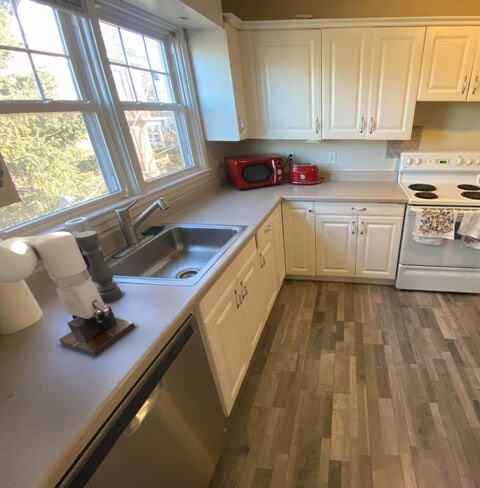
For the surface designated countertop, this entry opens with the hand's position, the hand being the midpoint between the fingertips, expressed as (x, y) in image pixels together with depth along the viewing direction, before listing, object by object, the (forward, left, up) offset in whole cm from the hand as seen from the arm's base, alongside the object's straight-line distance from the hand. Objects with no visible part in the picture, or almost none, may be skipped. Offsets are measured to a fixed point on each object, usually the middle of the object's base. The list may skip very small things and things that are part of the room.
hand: (95, 326), depth 82 cm
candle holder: (-15, +15, -4) cm, 22 cm away
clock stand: (0, 0, -4) cm, 4 cm away
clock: (0, 0, -1) cm, 1 cm away
